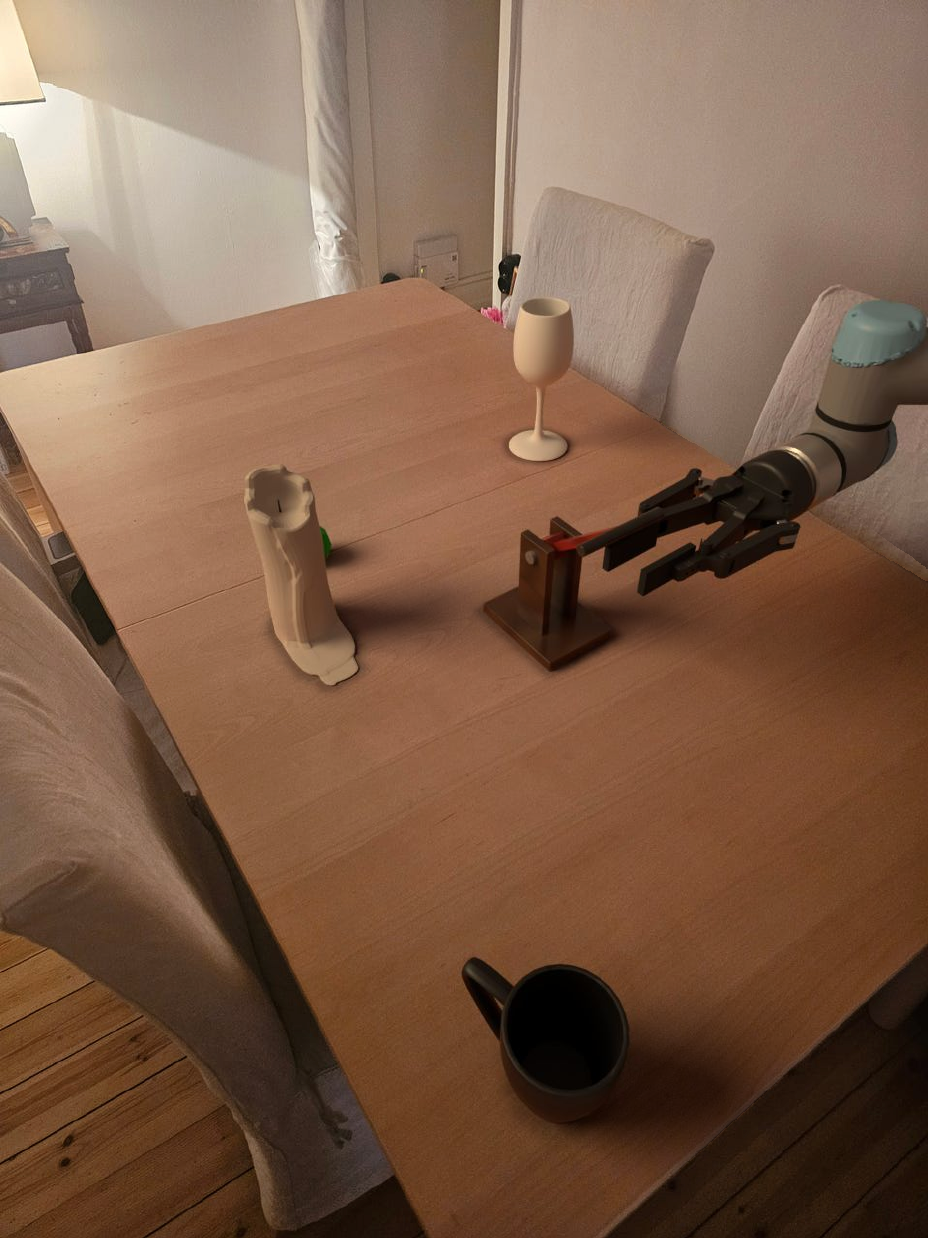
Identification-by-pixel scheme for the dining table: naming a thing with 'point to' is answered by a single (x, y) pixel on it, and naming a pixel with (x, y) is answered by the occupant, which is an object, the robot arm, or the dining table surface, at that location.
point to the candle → (297, 573)
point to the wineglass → (542, 367)
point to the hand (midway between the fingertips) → (624, 570)
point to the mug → (554, 1035)
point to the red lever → (600, 535)
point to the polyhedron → (325, 542)
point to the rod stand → (548, 603)
